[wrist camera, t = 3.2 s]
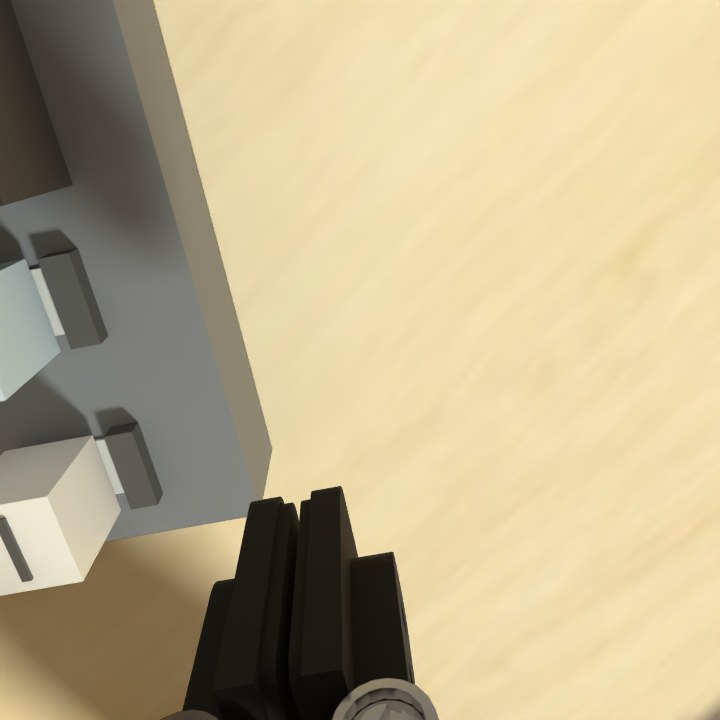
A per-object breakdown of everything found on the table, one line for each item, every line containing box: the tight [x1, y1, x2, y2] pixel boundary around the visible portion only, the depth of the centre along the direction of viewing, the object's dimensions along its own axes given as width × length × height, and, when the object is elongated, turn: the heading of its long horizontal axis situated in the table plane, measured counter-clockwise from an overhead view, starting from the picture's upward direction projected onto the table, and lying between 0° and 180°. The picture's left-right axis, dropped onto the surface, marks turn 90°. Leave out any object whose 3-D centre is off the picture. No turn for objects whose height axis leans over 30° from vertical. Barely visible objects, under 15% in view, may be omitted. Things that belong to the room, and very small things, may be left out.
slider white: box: [0, 435, 121, 596], centre depth 17 cm, size 2×2×3 cm
